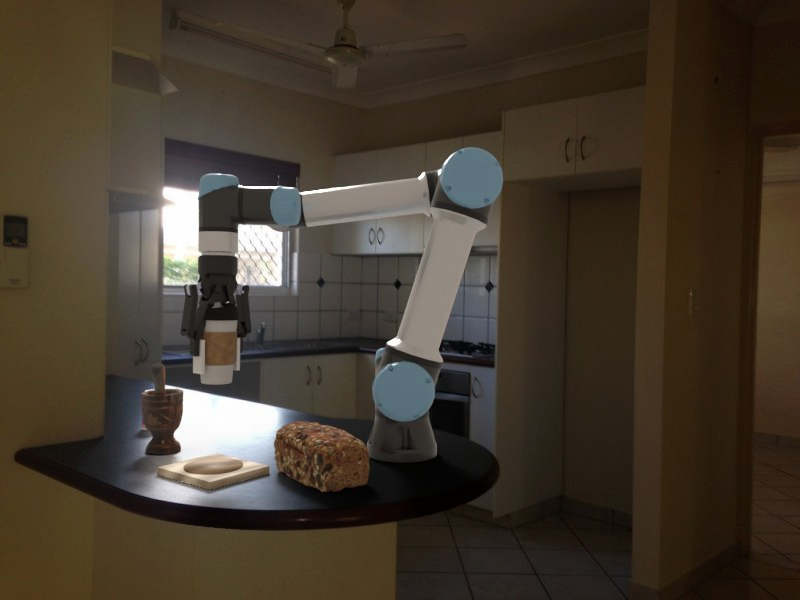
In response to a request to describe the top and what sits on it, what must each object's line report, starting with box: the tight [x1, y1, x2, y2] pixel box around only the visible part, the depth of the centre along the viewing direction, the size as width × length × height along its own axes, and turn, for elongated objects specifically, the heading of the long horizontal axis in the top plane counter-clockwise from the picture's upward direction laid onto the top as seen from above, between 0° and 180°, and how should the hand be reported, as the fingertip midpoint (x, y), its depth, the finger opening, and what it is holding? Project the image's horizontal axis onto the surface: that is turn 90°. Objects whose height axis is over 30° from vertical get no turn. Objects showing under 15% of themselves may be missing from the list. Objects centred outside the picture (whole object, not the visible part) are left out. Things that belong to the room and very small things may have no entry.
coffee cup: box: [196, 305, 240, 386], centre depth 135 cm, size 8×8×15 cm
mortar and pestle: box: [140, 362, 184, 456], centre depth 149 cm, size 12×9×20 cm
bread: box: [273, 420, 370, 493], centre depth 131 cm, size 19×11×10 cm, turn 37°
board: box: [156, 452, 270, 491], centre depth 133 cm, size 16×14×2 cm
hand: (216, 371), depth 135 cm, fingers closed on coffee cup, 7 cm apart
